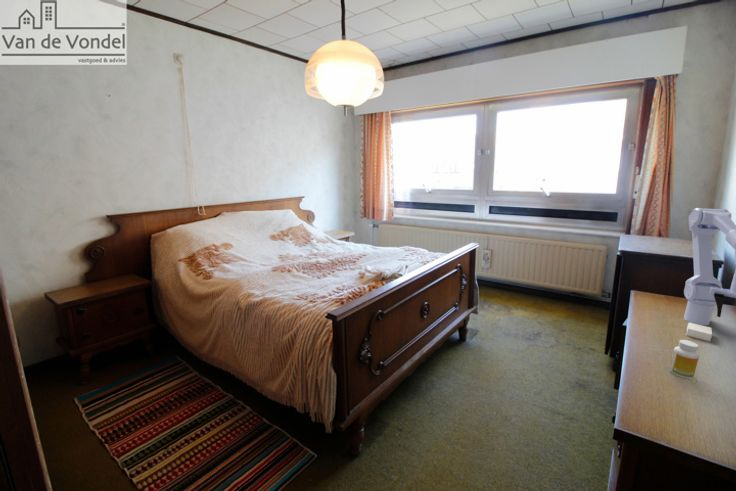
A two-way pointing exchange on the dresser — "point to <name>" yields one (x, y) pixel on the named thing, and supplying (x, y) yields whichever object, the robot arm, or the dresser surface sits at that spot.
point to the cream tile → (699, 331)
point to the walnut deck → (694, 337)
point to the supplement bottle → (684, 359)
